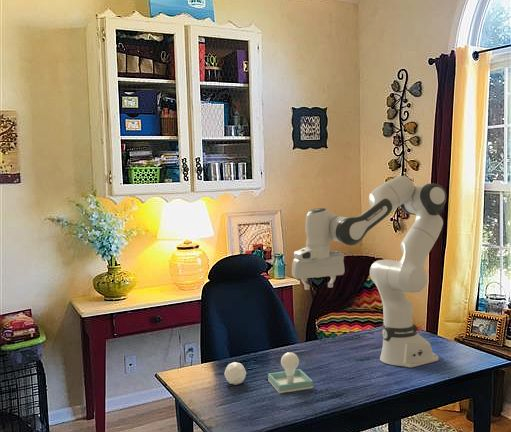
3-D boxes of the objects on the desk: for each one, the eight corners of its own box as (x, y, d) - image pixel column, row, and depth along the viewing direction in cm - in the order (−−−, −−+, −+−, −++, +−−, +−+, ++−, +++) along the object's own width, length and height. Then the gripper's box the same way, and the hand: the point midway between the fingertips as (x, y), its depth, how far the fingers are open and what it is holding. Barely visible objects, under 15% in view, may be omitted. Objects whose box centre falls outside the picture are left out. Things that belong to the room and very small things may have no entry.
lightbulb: (288, 387, 200) (288, 357, 199) (277, 382, 206) (277, 352, 204) (302, 383, 204) (302, 353, 203) (291, 378, 209) (290, 348, 208)
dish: (300, 375, 213) (300, 369, 213) (313, 388, 201) (312, 380, 201) (268, 380, 209) (268, 373, 209) (279, 393, 197) (279, 385, 197)
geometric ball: (229, 391, 208) (217, 372, 210) (247, 378, 212) (234, 360, 213) (235, 387, 201) (222, 367, 203) (253, 374, 205) (240, 355, 207)
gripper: (339, 248, 221) (340, 284, 222) (289, 252, 215) (290, 289, 217) (347, 251, 215) (347, 287, 216) (295, 255, 209) (296, 292, 211)
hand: (318, 288), depth 216 cm, fingers open, 8 cm apart
